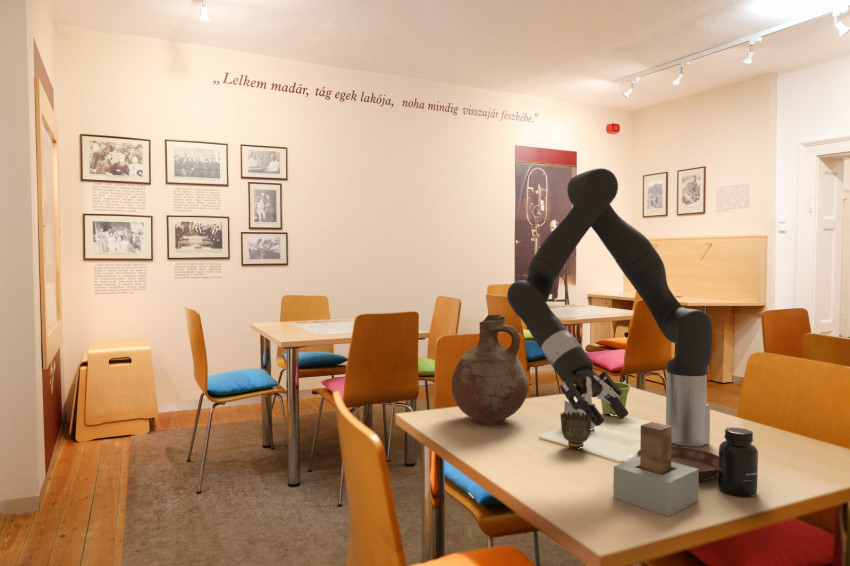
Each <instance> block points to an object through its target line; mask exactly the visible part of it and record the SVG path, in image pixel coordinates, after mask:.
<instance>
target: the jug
mask: <svg viewBox="0 0 850 566" xmlns="http://www.w3.org/2000/svg"><path fill="white" fill-rule="evenodd" d="M505 322H506V316H505V314H504V315H503V314H488V315H487V316H486V317H485V318H484V319H483V320H482V321H480V322H479V323H478V325H479V328H478V329H479V335H478V336H479V339H478V343H477V345H475V347H473V348H470V349H469V351H467V352H466V353H464V354H462V355H461V357H460V359H459V361H458V363H457V364H456V366H455V368H454V371H453V374H452V378H451V392H452V396H453V399H454V401H455V404H456V406H457V407H458V408H459V409H460V411H461V412H462V413H463V414H465V415H466V416H468V417H469V418H471V421H472V422H473V423H475V424H477V425H483V426H497V425H498V426H499V425H502V424H505V422H506V419H508V418H510V417H511V416H513V415H514V414H515V413H516V412H518V411H519V409H521V407H522V406H523V404H524V403H525V401H526V399H527V395H528V393H529V381H528V378H527V374H526V370H525V368H524V365H523V364H522V363H521V361H520V358H519V357H518V352H519V349H520V345H521V337H520V334H519V331H518V330H517V328H515V327H514V326H512V325H509V324H506V323H505ZM499 332H501V333H502V332H503V333H506V334H509V336H510V338H511V343H510V345H509V347H507V348H506V347H504V346H502V345H501V344H500V342H499V337H498V334H499Z"/></svg>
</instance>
